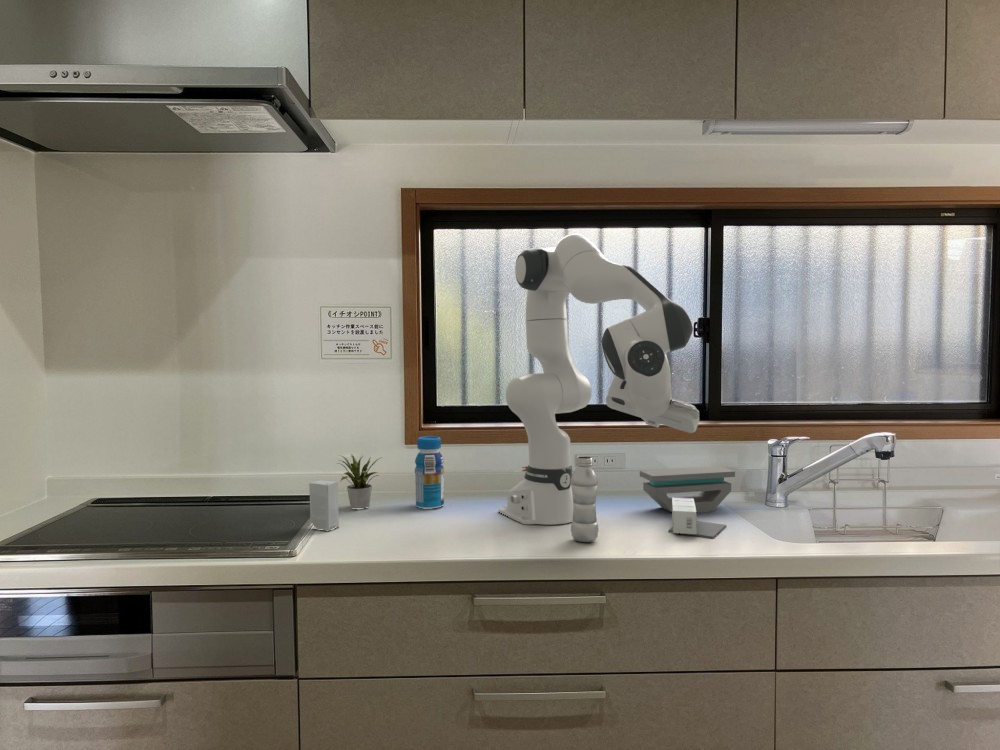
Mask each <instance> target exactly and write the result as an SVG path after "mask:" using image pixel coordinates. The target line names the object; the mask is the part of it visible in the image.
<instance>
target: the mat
mask: <svg viewBox="0 0 1000 750" xmlns="http://www.w3.org/2000/svg"><path fill="white" fill-rule="evenodd" d="M726 527H727V524H721V523H716V522H708V521H704V520H703V521H701V520H697V534H687V535H686V536H692V535H693V537H694V536H695V537H699V536H700V538H705V537H706V538H705V539H711V538H713V539H714V538H716V537H717V536H718V535H719V534H720V533H721V532H722V531H724V530H725V529H726ZM667 532H668V533H673V526H672V527H670V528H669V529H668V531H667ZM718 533H719V534H718ZM680 534H681V535H683V534H682V533H680ZM717 534H718V535H717ZM716 535H717V536H716ZM715 536H716V537H715Z"/></svg>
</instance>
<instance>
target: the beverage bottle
mask: <svg viewBox="0 0 1000 750" xmlns="http://www.w3.org/2000/svg"><path fill="white" fill-rule="evenodd" d="M416 442H417V443H416V444H417V446H416V447H417V450H418V451H419V452H417V454H416V457H415V459H414V463H415V468H414V475H415V481H414V483H415V506H417V507H419V508H418V509H420V508H437V507H441V506H443V505H445V490H444V489H445V486H444V484H445V481H444V478H445V467H444V457H443V455H442V453H441V452H440V450H441V447H442V439H441V437H440V436H434V435H427V436H426V435H425V436H420V437H418V438H417V440H416ZM417 507H416V508H417ZM443 507H444V506H443ZM441 508H442V507H441Z"/></svg>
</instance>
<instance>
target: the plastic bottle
mask: <svg viewBox="0 0 1000 750" xmlns="http://www.w3.org/2000/svg"><path fill="white" fill-rule="evenodd" d="M575 465H576V469H575V470H574V471H573V472H572V477H571V486H572V493H573V519H572V520H573V521H572V522H571V523H570V524H571V525H570V527H571V528H570V532H571V537H572V538H573V540H574V541H577V542H580V543H591V542H594V541H596V540H597V539H598V537H599V536H598V535H599V525H598V520H597V510H596V509H597V508H596V506H597V503H596V502H597V493H598V492H597V491H598V484H599V483H598V482H599V479H598V476H597V474H596V472H595V471H594V469H593V468H592V466H593V457H592V456H587V455H586V456H585V455H583V456H577V457H576V462H575Z"/></svg>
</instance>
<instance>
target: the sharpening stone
mask: <svg viewBox="0 0 1000 750" xmlns="http://www.w3.org/2000/svg"><path fill="white" fill-rule="evenodd" d="M639 477H641V478H643V479H645V480H647V481H643V483H642V484H643V485H642V487H643V491H644V492H645V493H646V494H647V495H649V497H650V498H651V499H652V500H653V501H654V502H655V503H657V505H659V506H660V507H661V508H662V507H663V508H662V509H664V510H666V511H667V512H669V511H670V513H671V512H672V498H693V499H694V502H695V507H696V512H701V513H710V512H709V511H713V512H714V511H715V510H716V509H717V507H718V506H719V505H720V504H721V503H722V502H723V501H724V500H726V498H727V496H729V494H730V493H731V492H732V483H731V482H728V481H726V480H725V479H726V478H735V477H736V471H734V470H732V469H729V468H726V467H723V466H719V465H718V466H717V465H716V466H702V467H701V466H698V467H685V468H682V467H681V468H667V469H666V468H663V469H662V468H661V469H651V470H650V469H647V470H645V469H644V470H639ZM695 492H698V493H699V494H697V495H681V496H668V494H679V493H695Z"/></svg>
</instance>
